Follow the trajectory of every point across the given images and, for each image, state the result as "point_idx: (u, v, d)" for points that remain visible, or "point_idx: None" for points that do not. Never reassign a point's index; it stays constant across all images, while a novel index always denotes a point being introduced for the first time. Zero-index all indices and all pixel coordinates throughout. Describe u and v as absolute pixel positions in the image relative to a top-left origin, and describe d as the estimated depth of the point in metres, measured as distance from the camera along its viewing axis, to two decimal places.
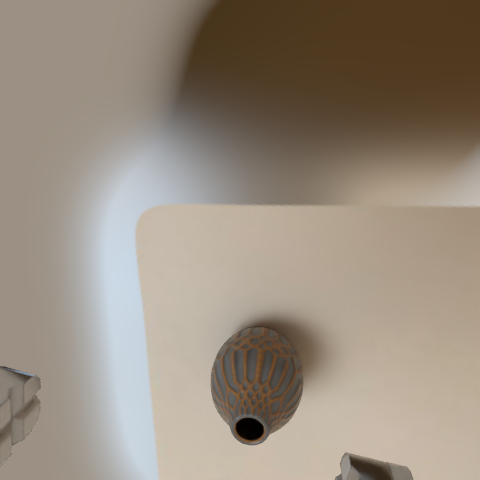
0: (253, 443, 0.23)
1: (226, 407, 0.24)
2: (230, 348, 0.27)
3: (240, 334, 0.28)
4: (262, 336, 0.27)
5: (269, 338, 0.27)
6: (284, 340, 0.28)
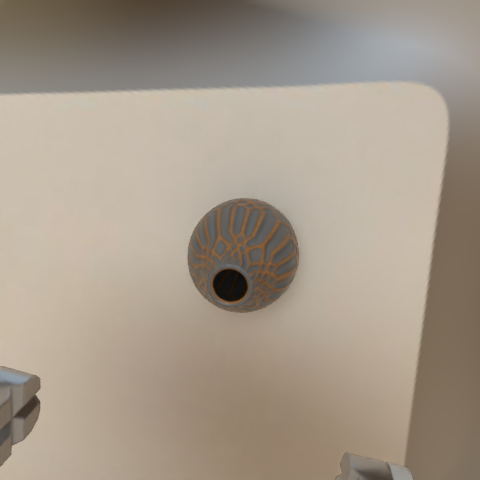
0: (210, 290, 0.19)
1: (243, 248, 0.19)
2: (289, 229, 0.22)
3: None
4: None
5: None
6: None
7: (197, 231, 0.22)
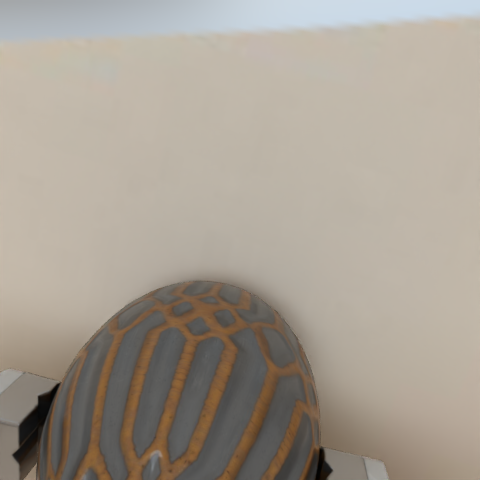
0: None
1: None
2: (298, 379, 0.09)
3: (308, 362, 0.10)
4: None
5: None
6: None
7: (58, 395, 0.08)
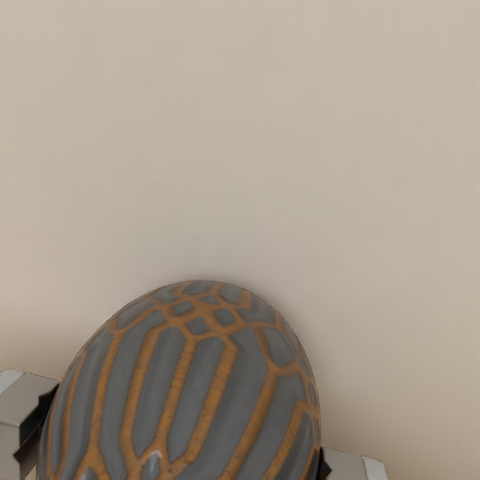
0: None
1: None
2: (299, 379, 0.09)
3: (308, 362, 0.10)
4: None
5: None
6: None
7: (58, 394, 0.08)
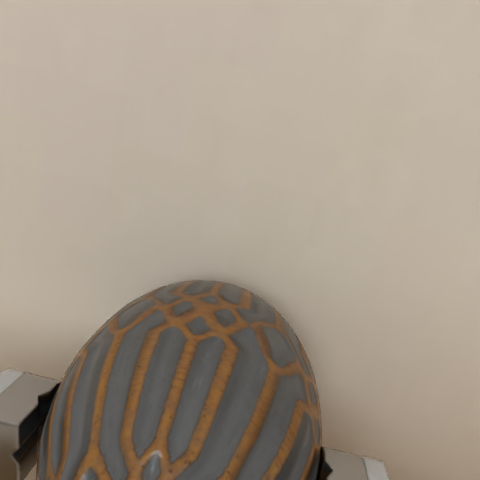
0: None
1: None
2: (299, 379, 0.09)
3: (309, 362, 0.10)
4: None
5: None
6: None
7: (58, 395, 0.08)
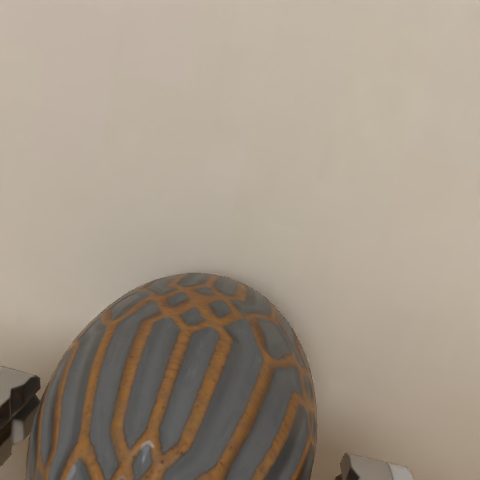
0: None
1: None
2: (295, 371, 0.09)
3: (305, 355, 0.10)
4: None
5: None
6: None
7: (49, 386, 0.08)
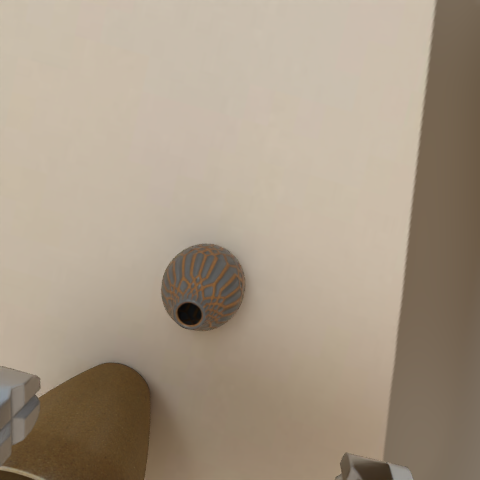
0: (175, 317, 0.27)
1: (199, 287, 0.27)
2: (236, 269, 0.30)
3: (241, 269, 0.32)
4: (244, 290, 0.31)
5: None
6: None
7: (168, 271, 0.29)
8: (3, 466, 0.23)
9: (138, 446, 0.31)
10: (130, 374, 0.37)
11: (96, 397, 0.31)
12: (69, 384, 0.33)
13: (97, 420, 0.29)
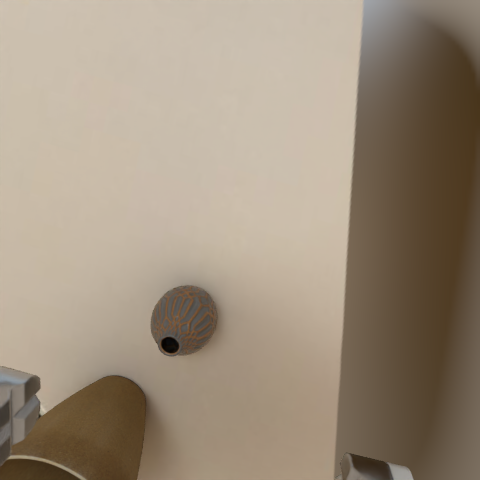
0: (160, 347, 0.36)
1: (177, 324, 0.36)
2: (208, 308, 0.39)
3: (213, 306, 0.40)
4: (215, 323, 0.40)
5: None
6: None
7: (155, 310, 0.38)
8: (35, 457, 0.32)
9: (133, 443, 0.40)
10: (129, 385, 0.47)
11: (101, 405, 0.40)
12: (81, 394, 0.42)
13: (102, 424, 0.38)
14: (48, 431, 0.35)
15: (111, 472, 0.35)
